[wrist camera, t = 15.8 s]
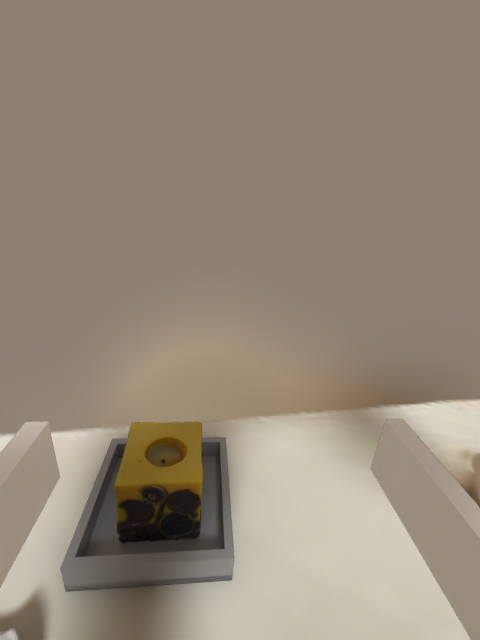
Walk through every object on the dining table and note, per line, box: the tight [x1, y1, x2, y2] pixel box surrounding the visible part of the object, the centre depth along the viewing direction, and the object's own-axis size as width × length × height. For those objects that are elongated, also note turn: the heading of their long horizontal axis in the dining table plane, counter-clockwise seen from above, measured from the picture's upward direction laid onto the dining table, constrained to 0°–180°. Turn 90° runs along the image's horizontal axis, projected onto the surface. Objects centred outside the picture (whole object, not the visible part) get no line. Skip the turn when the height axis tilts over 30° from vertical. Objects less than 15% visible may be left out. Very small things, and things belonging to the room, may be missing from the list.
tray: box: [61, 438, 234, 591], centre depth 41 cm, size 18×18×4 cm
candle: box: [114, 422, 203, 543], centre depth 39 cm, size 10×10×10 cm
